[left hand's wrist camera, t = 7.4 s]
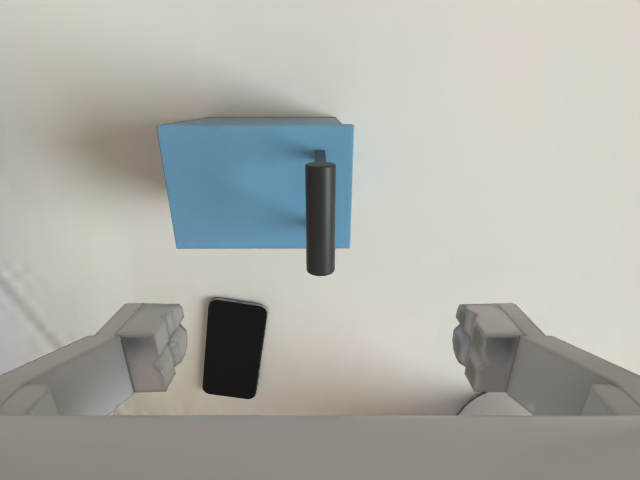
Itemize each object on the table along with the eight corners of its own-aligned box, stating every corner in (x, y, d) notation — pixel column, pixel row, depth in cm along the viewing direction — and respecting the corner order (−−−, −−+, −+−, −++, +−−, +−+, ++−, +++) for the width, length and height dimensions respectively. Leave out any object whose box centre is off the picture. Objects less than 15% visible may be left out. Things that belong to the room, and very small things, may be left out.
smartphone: (268, 307, 43) (255, 400, 48) (269, 304, 44) (255, 396, 49) (208, 298, 43) (201, 393, 48) (210, 295, 43) (203, 389, 49)
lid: (352, 124, 25) (368, 135, 17) (348, 242, 29) (360, 299, 21) (163, 124, 25) (88, 135, 17) (181, 243, 29) (126, 300, 21)
